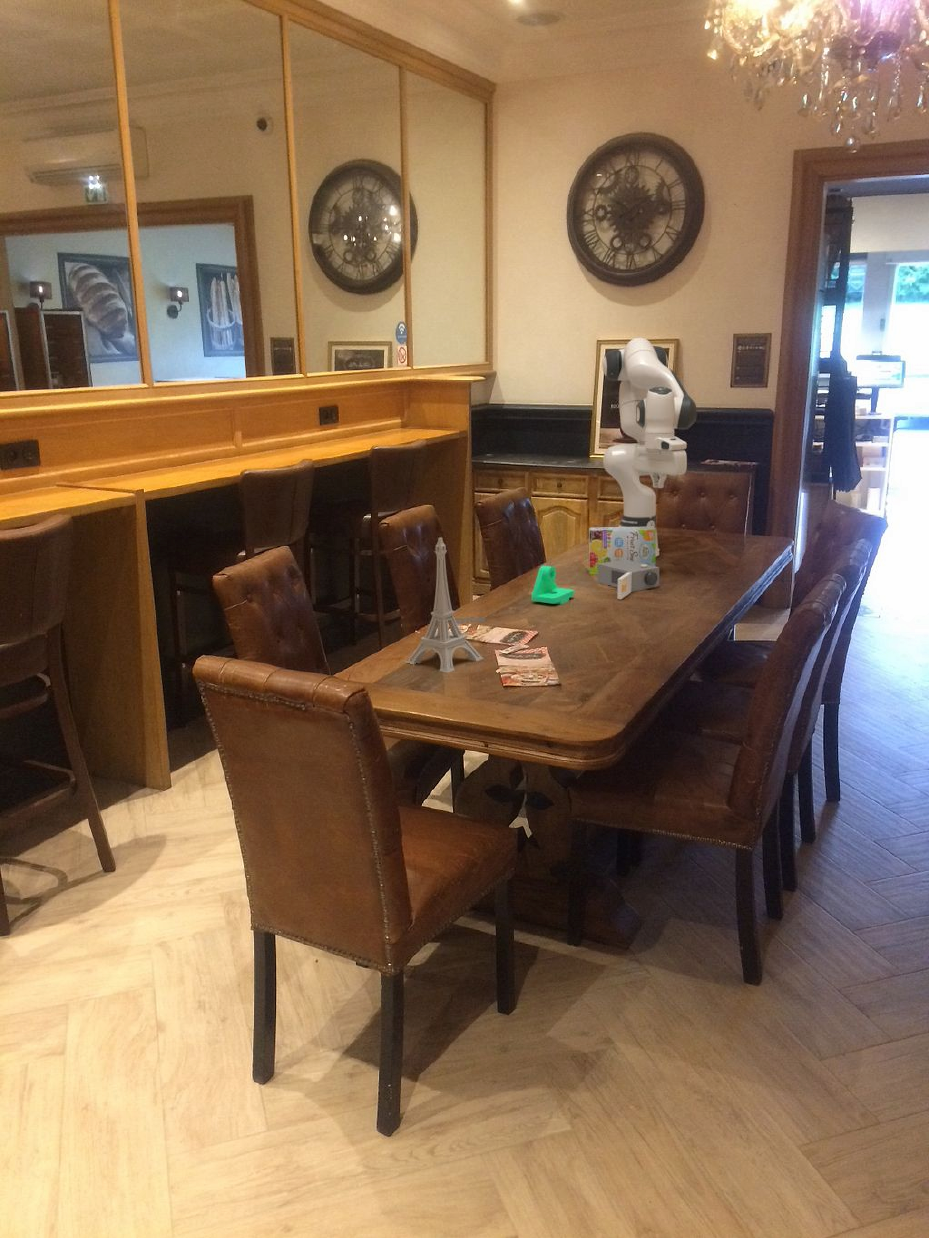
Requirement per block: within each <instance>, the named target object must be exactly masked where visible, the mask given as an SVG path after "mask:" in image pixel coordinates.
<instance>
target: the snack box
mask: <svg viewBox="0 0 929 1238" xmlns="http://www.w3.org/2000/svg"><path fill="white" fill-rule="evenodd" d="M656 530H657V528H656V529H655V527H618V526H611V527H609V526H608V527H607V526H605V527H604V526H603V527H598V526H597V527H589V528H588V572H589V575H590V576H597V564H600V563H606V562H611V561H617V560H622V559H625V560H630V561H634V562H638V563H643V564H647V565H651V566H656V558H657V556H656Z"/></svg>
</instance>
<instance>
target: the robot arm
mask: <svg viewBox="0 0 929 1238" xmlns="http://www.w3.org/2000/svg"><path fill="white" fill-rule="evenodd" d="M668 359H669V358H668V355H667V352H666V350H665V349H664V347H661V346H657V345H653V344H652V343H651V341H649V340H648V339H646V338H644V337H635V338H633V339H631V340H629V342H627V344H626V346H625V348H621V349H615V348H614V349H611V350H609V351H607V352H606V353H605V355H604V357H603V361H602V366H601V367H602V372H603V374H604V376H605V378H606V379H607V380H608V381H612V382H617V381H620V384H619V392H618V406H619V408H618V409H619V416H620V417H619V419H620V427H621V430H622V431H623V433H624V434H626V435H627V436H628V437H631V438H632V439H635V440H636V442H637V443H621V444H616V445H614V446H613V445H612V446H609V447H608V448H607V449H606V451H605V452H604V454H603V457H602V462H603V463H602V464H603V468H604V470H605V471H606V472H607V474H608V475H610V476H612V478H614V479H615V481H616V482H617V483H618V485H619V486H620V489H621V492H622V498H623V501H622V503H623V514H622V515H620V516H618V519H617V521H618V520H620V522H619V525H618V526H617V527H655V529H656V557H659V556H660V552H659V551H660V548H659V542H658V540H659V539H658V531H657V528H656V527H657V526H658V525H657V523H658V519H657V514H656V512H657V511H656V509H657V508H656V507H657V506H656V504H657V495H656V492H655V491H654V489H652V488H651V487H649V486H647V485H646V484H643V483H641V481H640V477H641V476H650V479H651V481H652V487H653V488H657V489H663V488H664V486H665V481H666V480H667V477H668V475H669V476H670V475H671V476H684V475H685V474H686V472H687V467H688V465H687V464H688V463H687V461H688V458H687V457H688V456H687V452H686V449H687V447H688V446H687V445H688V444H687V442H686V441H684V440H682V439H680V437H677V436H676V435H675V429H676V430H688V429H689V428H691V427H692V426H693V424H694V423H695V422H696V420H697V418H698V417H697V416H698V410H697V405H696V402H695V401H694V400H693V399H692V397H690V395H689V394H688V393H687V391H686V389H685V388H684V386H683V384H682V383H681V381H680V379H679V377H678V376H677V374H676V373H675V372H674V370H672V369H671V368H669V367H668V363H669V361H668Z"/></svg>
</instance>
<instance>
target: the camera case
mask: <svg viewBox="0 0 929 1238" xmlns="http://www.w3.org/2000/svg"><path fill="white" fill-rule="evenodd" d="M627 572H632V592H633V593H634V592H637V591H639V592H640V591H643V590H649V589H653V588H658V586H659V587H660V566H656V565H655V566H651V565H647V564H643V563H638V562H634V561H630V560H625V559H622V560H617V561H611V562H606V563H600V564H597V575H596V576H597V580H596V583H597V584H601V585H604V586H608V585H611V586H610V587H612V586H614V587H613V588H615V587H617V588H616V589H618V578H620V577H621V576H623V575H624V574H626V573H627ZM632 592H631V593H632Z"/></svg>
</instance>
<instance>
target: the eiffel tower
mask: <svg viewBox="0 0 929 1238" xmlns="http://www.w3.org/2000/svg"><path fill="white" fill-rule="evenodd" d="M446 547H447V546H446V544H445V543H444V541H443V537H438V538H437V543H436V545H435V550H434V553H435V555H436V580H435V581H436V582H435V595H434V604H433V611H431V612H430V615H431V619H430V622H429V625H428V628H427V630H426V633H425V635H424V636H423V637H420V639H419V640H420V643H419V644H418V646H417V647H416V648H415V650H414V651H413V653H412V654H411V655H409V658H408V659H407V660H406V661H405V662H404V664H406V663H410V664H413V665H412V666H415V665H414V664H416V663H418V664H420V663H422V661H421V658H422V657H423V655H424V654H425V653H426V652H427V651H428V650H433V651H434V653H436V654H437V655H438V656H439V661H440V668H439V671H438V672H441V673H445V674H450V673H453V672H455V671H456V669H455V668H454V664H453V655H454V652H455V651H456V650H457V649H462V650H463V651H464V652H465V653H466V655H467V656H468V658H467V661H471V662H479V661H482V660H484V659H485V658H484V657H482V656H481V654H480V652H478V651H477V650H476V649H475V648H474V647H473V645H472V644H471V643H470V642H469V640H467V638H468V635H466V634H463V633H462V631H461V629H460V627H459V624H458V623H457V619H456V618H455V615H454V614H455V613H456V611H454V610H453V609H452V608H453V607H452V603H451V598H450V591H449V584H448V577H447V569H446V568H447V567H446V553H447V551H448V550H447V548H446ZM449 629H450V631H449ZM410 664H409V665H410ZM416 665H417V664H416Z"/></svg>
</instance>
